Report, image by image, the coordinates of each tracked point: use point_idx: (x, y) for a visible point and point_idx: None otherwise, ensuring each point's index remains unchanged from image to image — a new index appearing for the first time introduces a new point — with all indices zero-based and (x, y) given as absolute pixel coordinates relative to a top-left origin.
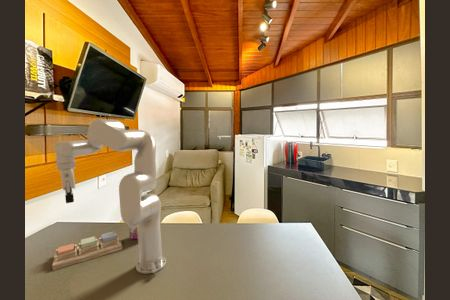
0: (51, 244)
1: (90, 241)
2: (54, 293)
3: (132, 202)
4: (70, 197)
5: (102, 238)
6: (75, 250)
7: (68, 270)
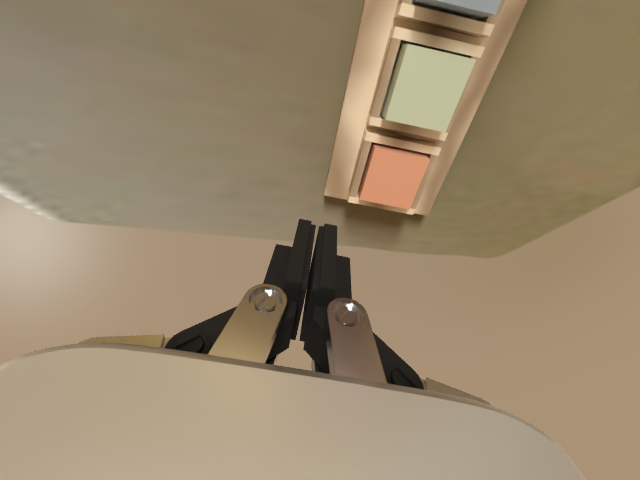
0: (202, 182)
1: (455, 86)
2: (554, 223)
3: None
4: (348, 291)
5: (489, 13)
6: (432, 151)
7: (472, 176)
